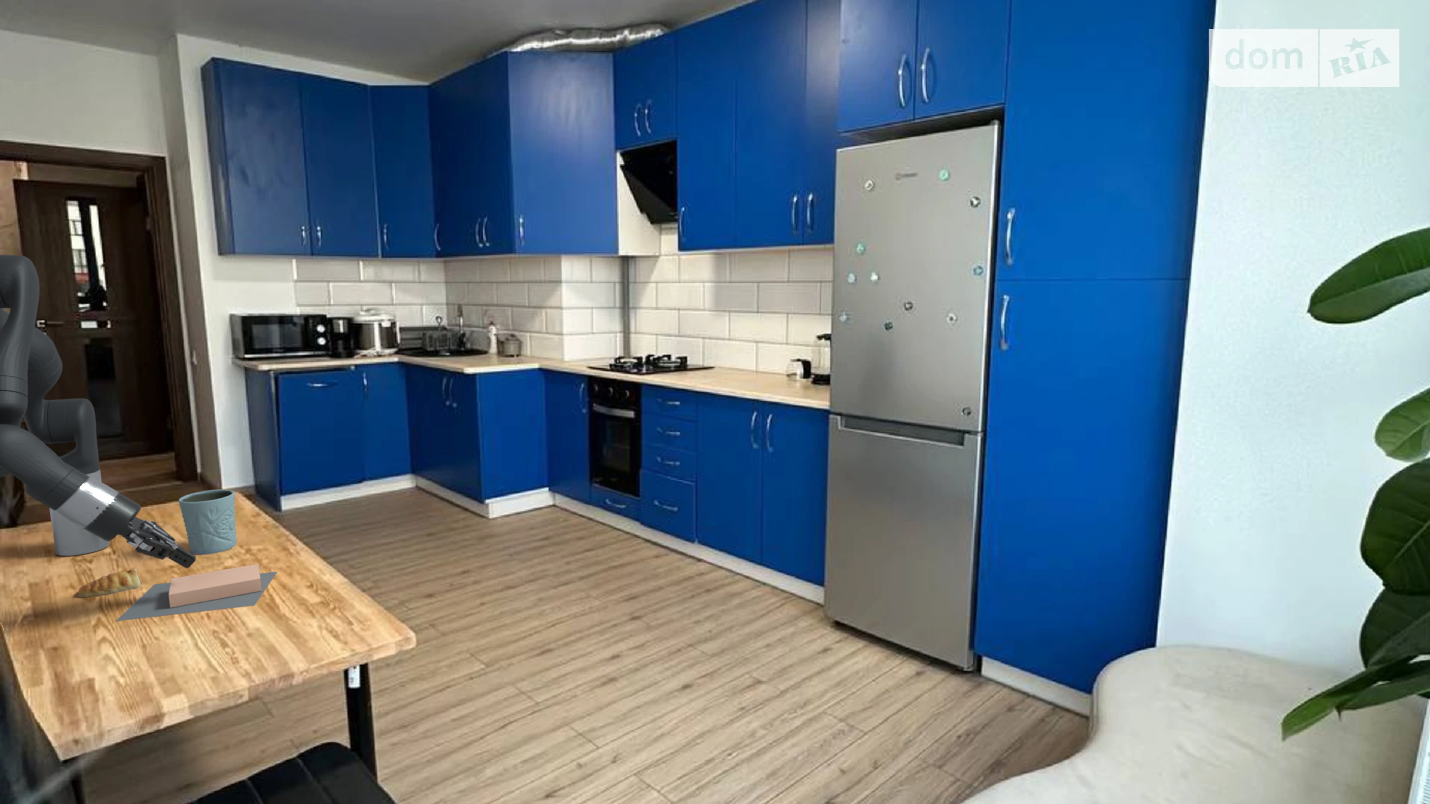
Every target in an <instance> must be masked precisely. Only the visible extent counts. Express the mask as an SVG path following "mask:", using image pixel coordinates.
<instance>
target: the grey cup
mask: <svg viewBox="0 0 1430 804" xmlns="http://www.w3.org/2000/svg"><path fill="white" fill-rule="evenodd" d="M235 497H236V495H235V491H234V490H231V489H211V490H210V489H209V490H203V491H197V492H193V493H190V494H186V495H183V496H181V497H180V498H179V499H178V504H179V508H180V511H181V514H182V515H181V517H182V519H183V523H184V527H185V531H186V536H187V541H188V543H189V544H188V545H189V550H190V551H189V552H190V553H191V554H193V555H201V556H203V555H211V554H218V552H219V553H222V552H225V551H228V549H229V550H232V549H233V548H235V547H236V546H237V533H236V530H237V528H236V518H235V517H236V507H235V504H236V503H235V500H236V499H235ZM235 545H236V546H235ZM234 546H235V547H234ZM232 547H233V548H232Z"/></svg>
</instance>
